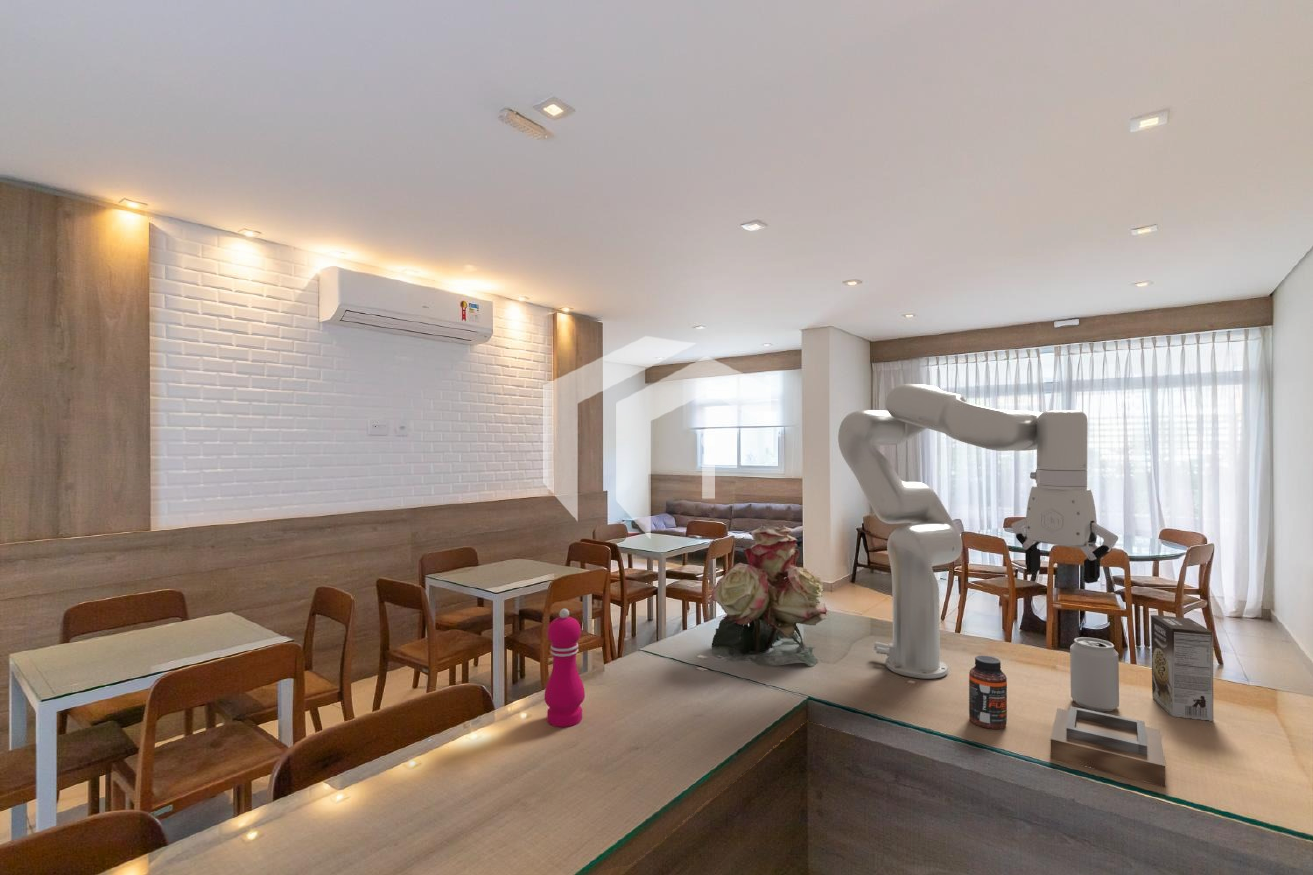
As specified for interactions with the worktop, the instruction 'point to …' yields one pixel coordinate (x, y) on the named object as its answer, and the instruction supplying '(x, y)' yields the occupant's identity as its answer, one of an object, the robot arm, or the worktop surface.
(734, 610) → the rose bouquet
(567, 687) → the pepper mill
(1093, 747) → the display pedestal
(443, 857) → the worktop surface
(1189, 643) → the coffee box
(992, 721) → the supplement bottle
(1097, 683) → the can
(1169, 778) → the worktop surface
